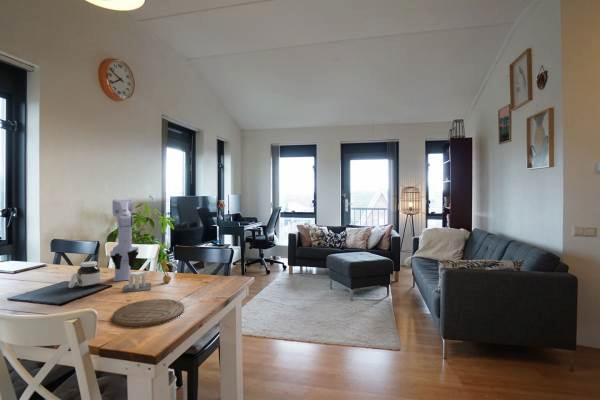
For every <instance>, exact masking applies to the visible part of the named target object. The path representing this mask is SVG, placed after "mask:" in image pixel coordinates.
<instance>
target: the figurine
mask: <svg viewBox="0 0 600 400" xmlns="http://www.w3.org/2000/svg"><path fill="white" fill-rule="evenodd" d="M161 264H162V269H163V274H164V276H163V277H162V281H163V283H167V284H168V283H170V282H171V280H172V276H171V275H170V274H169V273H168V272H169V268H168V265H167V264H169V266H171V267H173V265H172V264H171V262H170V261H168V260H167V259H163V260H161V261H160V262H159V263H158V264H157V265H158V266H157V267H158V268H157V270H158V271H159V270H160V265H161Z"/></svg>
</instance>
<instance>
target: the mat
mask: <svg viewBox="0 0 600 400" xmlns="http://www.w3.org/2000/svg"><path fill="white" fill-rule="evenodd" d="M151 290H152V283H151V282H146V286H145V287H142V282H141V283H139V289H135V283H133V287H132V288H129V284H124V285H123V289H122V291H121V292H122V294H123V293H132V292H134V293H135V292H144V291H151Z"/></svg>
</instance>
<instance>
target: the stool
mask: <svg viewBox="0 0 600 400" xmlns="http://www.w3.org/2000/svg"><path fill="white" fill-rule="evenodd" d="M146 277H147V274H146V272H145V271H139V270H138V271H134V272H133V271H132V272H130V273H129V280H128V285H129V288H132V287H133V284H135V289H139V284H140V281H141V283H142V287H145V286H146V283H147V281H146V280H147V278H146ZM140 278H141V280H140ZM133 281H134V282H133Z"/></svg>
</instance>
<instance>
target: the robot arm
mask: <svg viewBox="0 0 600 400" xmlns="http://www.w3.org/2000/svg"><path fill="white" fill-rule="evenodd" d="M111 206H112V214H113V216H114V217H115V218H116V219H117V231H118V232H117V237H118V238H117V241H118V243H117V245H115V246H114V247H113V248H112V250H111V251H110V253H109V255H110V258H111V259H112V263H114V278H113V280H112V281H113V282H120V281H129V273H131V267H134V264H135V260H136V259H137V256H138V255H139V247H138V246H132V242H133V241H132V238H133V237H132V236H133V226H134V217H133V215H132V214H133V207H134V201H133V199H113V200H112V205H111Z"/></svg>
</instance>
